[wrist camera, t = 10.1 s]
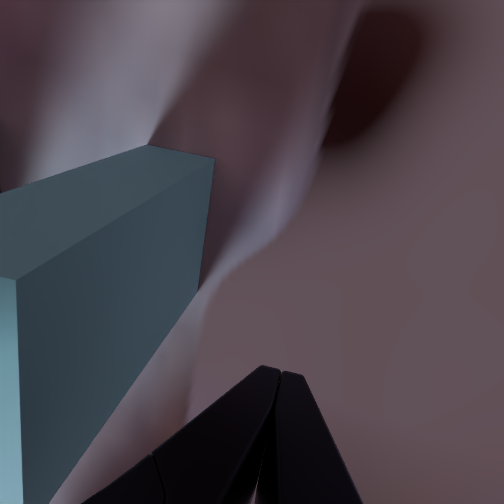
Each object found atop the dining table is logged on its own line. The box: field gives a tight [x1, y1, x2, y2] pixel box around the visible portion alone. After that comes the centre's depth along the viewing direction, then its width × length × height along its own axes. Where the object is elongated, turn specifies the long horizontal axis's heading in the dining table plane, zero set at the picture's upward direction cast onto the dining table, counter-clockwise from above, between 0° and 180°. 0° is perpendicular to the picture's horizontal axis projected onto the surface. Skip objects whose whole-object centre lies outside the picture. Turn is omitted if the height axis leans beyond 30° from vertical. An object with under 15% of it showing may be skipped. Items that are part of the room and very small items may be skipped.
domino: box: [0, 145, 215, 504], centre depth 12 cm, size 2×5×10 cm, turn 171°
